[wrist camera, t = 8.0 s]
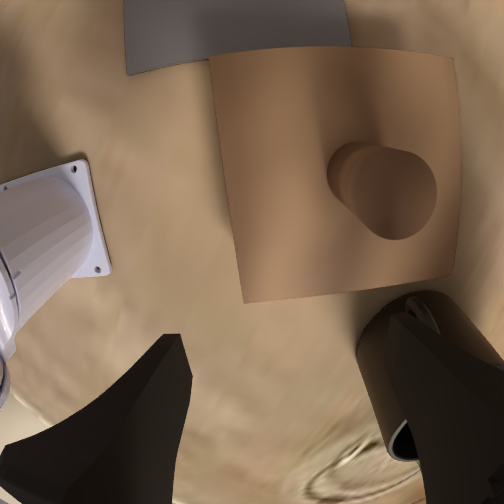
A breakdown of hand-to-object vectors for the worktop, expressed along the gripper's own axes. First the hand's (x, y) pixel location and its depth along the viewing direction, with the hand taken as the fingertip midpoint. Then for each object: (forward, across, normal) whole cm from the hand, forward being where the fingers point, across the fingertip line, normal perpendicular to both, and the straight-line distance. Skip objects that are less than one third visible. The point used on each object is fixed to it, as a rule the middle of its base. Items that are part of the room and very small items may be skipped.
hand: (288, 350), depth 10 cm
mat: (+10, +1, -18) cm, 21 cm away
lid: (+6, -4, -5) cm, 9 cm away
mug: (+10, -10, +8) cm, 16 cm away
